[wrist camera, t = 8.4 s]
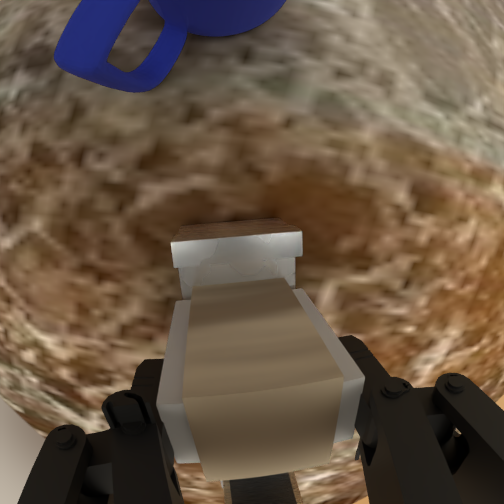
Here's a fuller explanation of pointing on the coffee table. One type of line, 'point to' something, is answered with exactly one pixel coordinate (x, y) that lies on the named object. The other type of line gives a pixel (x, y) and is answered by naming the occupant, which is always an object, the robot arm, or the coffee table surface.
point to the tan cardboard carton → (257, 382)
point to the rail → (231, 271)
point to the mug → (167, 46)
